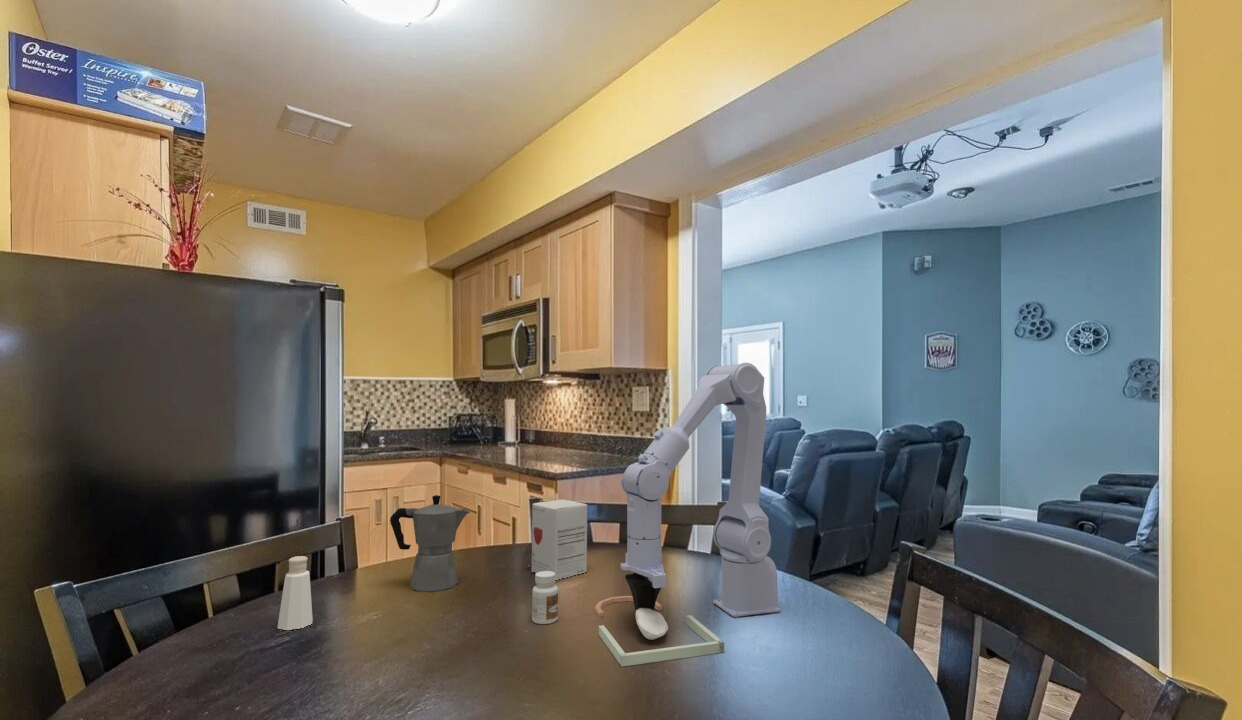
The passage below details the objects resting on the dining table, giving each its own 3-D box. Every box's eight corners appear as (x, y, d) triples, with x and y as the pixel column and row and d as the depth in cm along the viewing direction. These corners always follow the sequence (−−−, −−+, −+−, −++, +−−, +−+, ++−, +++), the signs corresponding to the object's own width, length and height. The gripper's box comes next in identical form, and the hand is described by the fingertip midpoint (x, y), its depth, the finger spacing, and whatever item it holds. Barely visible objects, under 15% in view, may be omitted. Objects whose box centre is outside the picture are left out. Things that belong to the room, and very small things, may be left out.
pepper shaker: (318, 625, 98) (321, 557, 99) (282, 634, 94) (286, 563, 95) (306, 617, 102) (309, 551, 103) (271, 625, 98) (274, 557, 99)
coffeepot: (468, 576, 126) (470, 490, 127) (467, 590, 117) (468, 497, 118) (391, 581, 123) (394, 493, 124) (384, 595, 114) (386, 500, 115)
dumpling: (635, 628, 97) (635, 603, 97) (667, 629, 97) (666, 604, 97) (636, 646, 90) (636, 619, 90) (670, 646, 90) (670, 619, 90)
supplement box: (529, 572, 129) (530, 502, 130) (562, 564, 135) (563, 498, 136) (554, 581, 123) (555, 508, 124) (588, 573, 129) (588, 503, 130)
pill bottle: (553, 625, 98) (553, 578, 99) (528, 623, 99) (528, 576, 100) (561, 616, 103) (561, 570, 103) (537, 614, 103) (537, 569, 104)
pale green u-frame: (690, 623, 99) (690, 614, 99) (724, 652, 88) (724, 642, 88) (598, 634, 94) (598, 625, 95) (621, 666, 83) (621, 656, 83)
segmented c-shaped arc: (647, 597, 113) (647, 593, 113) (661, 610, 106) (661, 605, 106) (588, 603, 109) (588, 599, 109) (599, 617, 102) (599, 612, 102)
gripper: (609, 528, 104) (608, 607, 103) (635, 547, 90) (635, 639, 89) (646, 526, 106) (646, 603, 105) (678, 544, 93) (678, 634, 92)
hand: (644, 620), depth 98 cm, fingers closed
